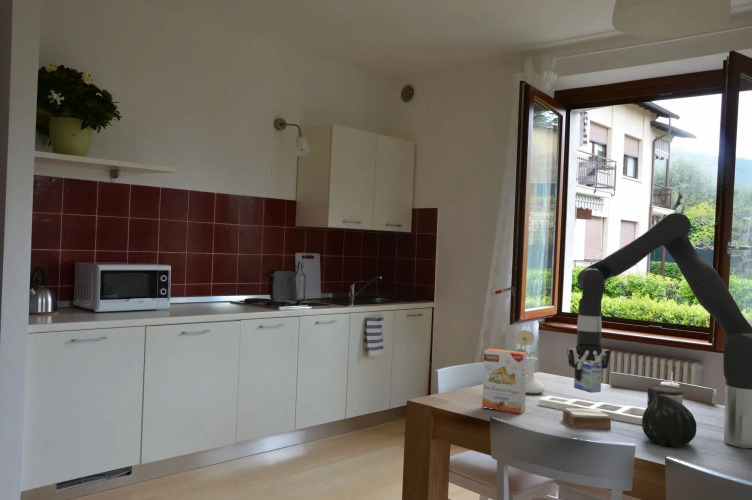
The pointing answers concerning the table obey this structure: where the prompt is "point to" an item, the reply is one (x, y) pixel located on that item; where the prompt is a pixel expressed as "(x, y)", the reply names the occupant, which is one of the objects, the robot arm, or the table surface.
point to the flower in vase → (529, 361)
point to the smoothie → (670, 382)
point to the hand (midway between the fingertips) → (587, 380)
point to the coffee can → (664, 393)
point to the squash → (668, 422)
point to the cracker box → (504, 380)
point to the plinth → (586, 418)
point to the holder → (609, 409)
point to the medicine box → (589, 378)
